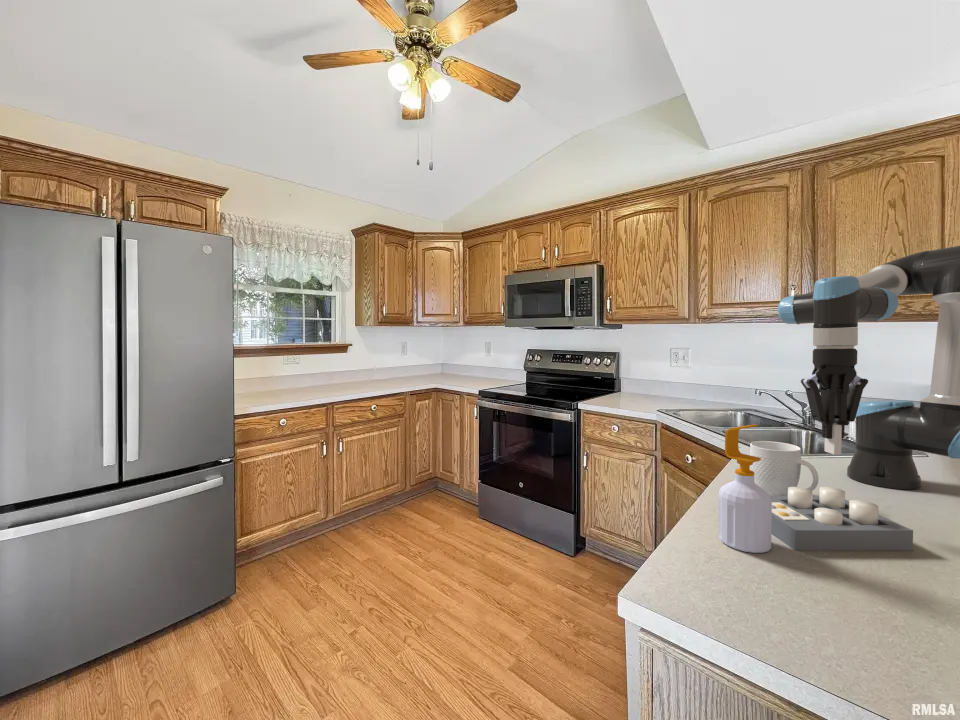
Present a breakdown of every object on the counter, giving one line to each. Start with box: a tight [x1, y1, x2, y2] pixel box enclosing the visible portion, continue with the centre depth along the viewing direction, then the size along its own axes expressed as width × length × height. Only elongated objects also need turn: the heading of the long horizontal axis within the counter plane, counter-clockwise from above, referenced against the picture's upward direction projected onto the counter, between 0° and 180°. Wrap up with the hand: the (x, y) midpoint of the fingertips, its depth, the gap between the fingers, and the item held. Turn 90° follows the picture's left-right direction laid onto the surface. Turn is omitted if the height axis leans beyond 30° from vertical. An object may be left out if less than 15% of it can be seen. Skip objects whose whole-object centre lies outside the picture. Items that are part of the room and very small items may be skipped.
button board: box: [770, 495, 914, 552], centre depth 89 cm, size 22×18×4 cm
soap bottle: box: [718, 423, 772, 554], centre depth 84 cm, size 9×9×25 cm
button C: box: [788, 486, 814, 509], centre depth 93 cm, size 4×4×4 cm
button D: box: [814, 508, 842, 525], centre depth 85 cm, size 4×4×4 cm
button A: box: [818, 486, 846, 509], centre depth 93 cm, size 4×4×4 cm
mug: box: [749, 440, 819, 496], centre depth 108 cm, size 15×11×13 cm
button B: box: [848, 499, 879, 525], centre depth 85 cm, size 4×4×4 cm
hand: (832, 452), depth 92 cm, fingers closed
